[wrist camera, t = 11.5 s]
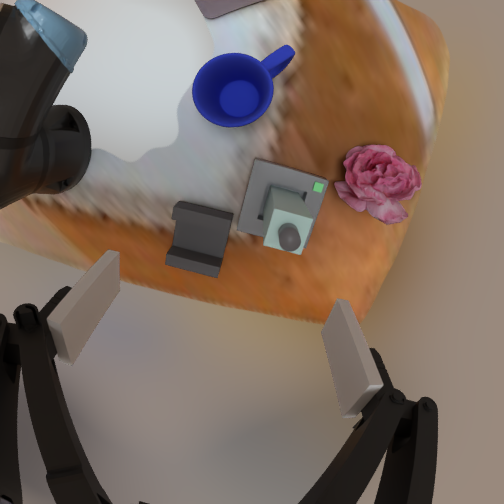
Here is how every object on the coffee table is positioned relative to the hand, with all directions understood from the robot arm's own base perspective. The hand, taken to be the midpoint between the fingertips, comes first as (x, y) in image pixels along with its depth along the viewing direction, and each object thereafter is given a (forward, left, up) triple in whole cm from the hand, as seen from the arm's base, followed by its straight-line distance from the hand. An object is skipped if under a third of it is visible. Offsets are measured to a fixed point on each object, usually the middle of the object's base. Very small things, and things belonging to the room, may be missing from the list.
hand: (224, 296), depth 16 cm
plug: (+5, 0, -25) cm, 25 cm away
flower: (+16, +8, -26) cm, 31 cm away
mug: (-3, +14, -26) cm, 30 cm away
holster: (-5, -8, -25) cm, 27 cm away
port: (+5, 0, -25) cm, 26 cm away
